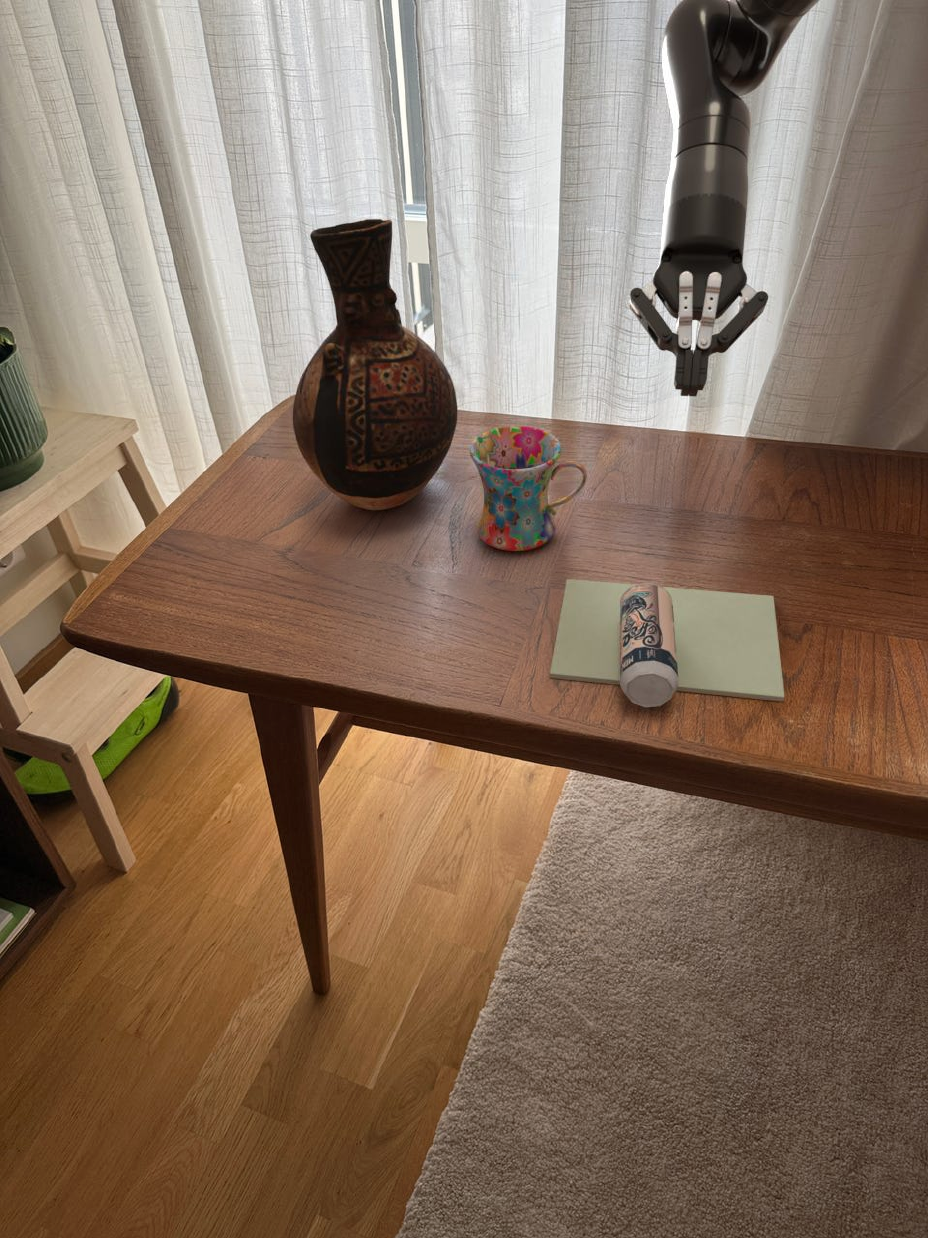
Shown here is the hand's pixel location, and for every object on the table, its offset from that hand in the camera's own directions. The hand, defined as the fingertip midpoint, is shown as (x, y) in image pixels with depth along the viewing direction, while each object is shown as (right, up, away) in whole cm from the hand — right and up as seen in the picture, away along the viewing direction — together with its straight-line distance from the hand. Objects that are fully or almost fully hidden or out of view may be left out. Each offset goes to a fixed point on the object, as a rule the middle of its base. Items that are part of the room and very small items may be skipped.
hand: (689, 393), depth 81 cm
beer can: (-4, -19, +1) cm, 19 cm away
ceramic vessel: (-30, -6, +24) cm, 38 cm away
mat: (-2, -23, +1) cm, 23 cm away
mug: (-14, -12, +15) cm, 24 cm away
